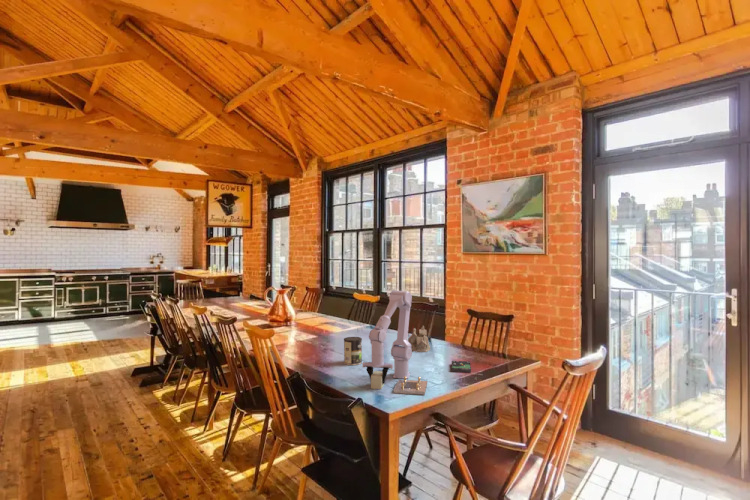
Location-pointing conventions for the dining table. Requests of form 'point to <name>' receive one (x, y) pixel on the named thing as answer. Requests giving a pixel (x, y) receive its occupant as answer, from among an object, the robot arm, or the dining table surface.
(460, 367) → the disk drive
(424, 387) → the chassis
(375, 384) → the block
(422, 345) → the ceramic cottage
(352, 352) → the coffee can
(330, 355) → the dining table surface
